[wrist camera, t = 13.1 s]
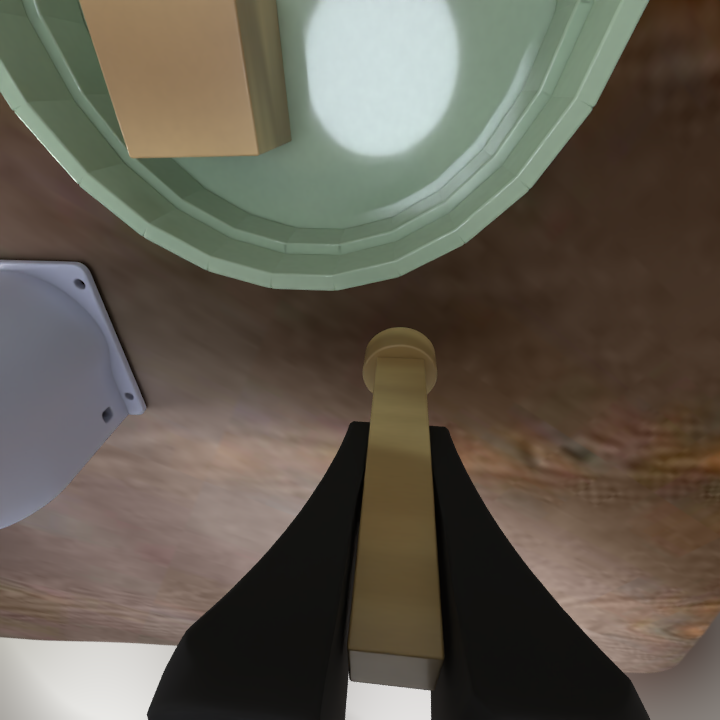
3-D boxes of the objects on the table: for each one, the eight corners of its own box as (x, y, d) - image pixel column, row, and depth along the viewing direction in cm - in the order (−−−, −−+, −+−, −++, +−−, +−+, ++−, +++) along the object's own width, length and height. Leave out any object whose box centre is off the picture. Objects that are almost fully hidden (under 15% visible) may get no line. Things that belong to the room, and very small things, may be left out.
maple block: (292, 141, 15) (259, 156, 11) (189, 143, 15) (129, 159, 12) (276, -3, 12) (229, -38, 9) (155, 3, 13) (68, -27, 9)
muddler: (431, 385, 15) (459, 703, 7) (365, 382, 15) (324, 687, 8) (438, 327, 14) (482, 651, 6) (365, 325, 14) (313, 633, 6)
